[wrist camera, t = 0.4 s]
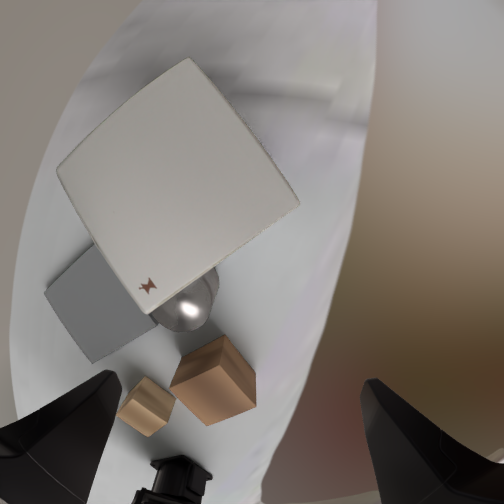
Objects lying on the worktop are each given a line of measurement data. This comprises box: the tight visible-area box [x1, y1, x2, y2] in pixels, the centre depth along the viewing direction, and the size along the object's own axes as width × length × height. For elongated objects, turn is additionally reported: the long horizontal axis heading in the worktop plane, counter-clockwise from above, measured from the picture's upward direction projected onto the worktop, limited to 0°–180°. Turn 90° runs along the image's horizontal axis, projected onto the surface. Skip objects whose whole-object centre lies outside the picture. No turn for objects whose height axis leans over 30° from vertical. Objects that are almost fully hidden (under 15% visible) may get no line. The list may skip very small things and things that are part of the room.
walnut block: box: [169, 335, 256, 426], centre depth 22 cm, size 5×5×5 cm
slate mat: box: [44, 244, 159, 364], centre depth 22 cm, size 10×9×1 cm
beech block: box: [116, 376, 176, 437], centre depth 23 cm, size 4×4×4 cm
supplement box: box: [56, 57, 300, 314], centre depth 15 cm, size 7×7×13 cm
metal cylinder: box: [151, 267, 219, 332], centre depth 20 cm, size 4×4×5 cm
